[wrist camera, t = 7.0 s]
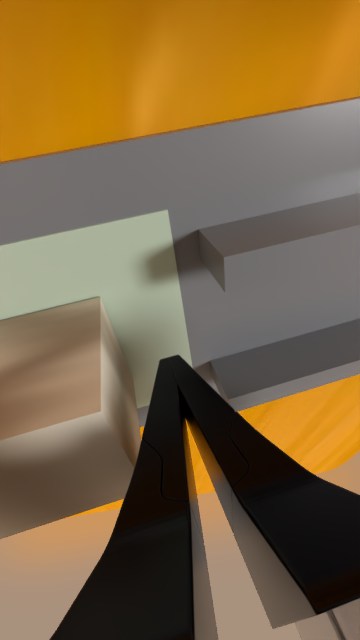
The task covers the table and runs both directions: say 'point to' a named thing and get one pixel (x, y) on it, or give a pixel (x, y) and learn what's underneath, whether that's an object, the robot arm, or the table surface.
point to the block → (63, 416)
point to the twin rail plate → (202, 247)
